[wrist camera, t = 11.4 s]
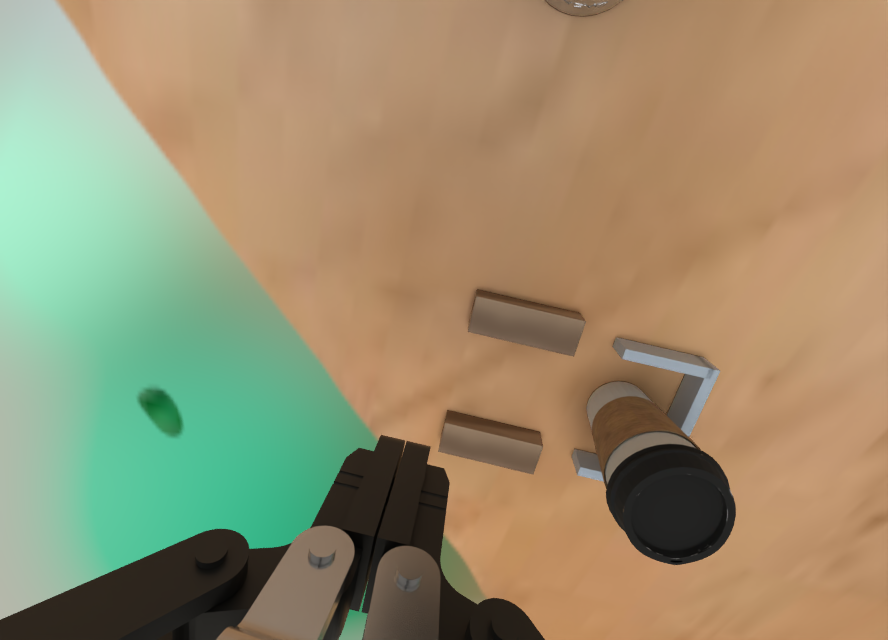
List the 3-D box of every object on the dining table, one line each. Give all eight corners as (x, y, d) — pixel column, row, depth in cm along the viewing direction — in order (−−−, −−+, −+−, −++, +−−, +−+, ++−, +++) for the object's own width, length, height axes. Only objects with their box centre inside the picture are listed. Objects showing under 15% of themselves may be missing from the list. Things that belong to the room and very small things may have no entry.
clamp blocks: (477, 289, 40) (476, 296, 38) (580, 313, 40) (585, 321, 38) (440, 437, 46) (438, 451, 43) (531, 459, 46) (533, 474, 43)
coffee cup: (573, 443, 44) (613, 566, 30) (574, 370, 42) (618, 467, 28) (657, 442, 43) (739, 569, 29) (663, 367, 41) (756, 466, 27)
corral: (616, 337, 40) (625, 348, 38) (703, 357, 40) (720, 370, 37) (571, 456, 45) (577, 475, 42) (650, 475, 45) (661, 495, 42)
